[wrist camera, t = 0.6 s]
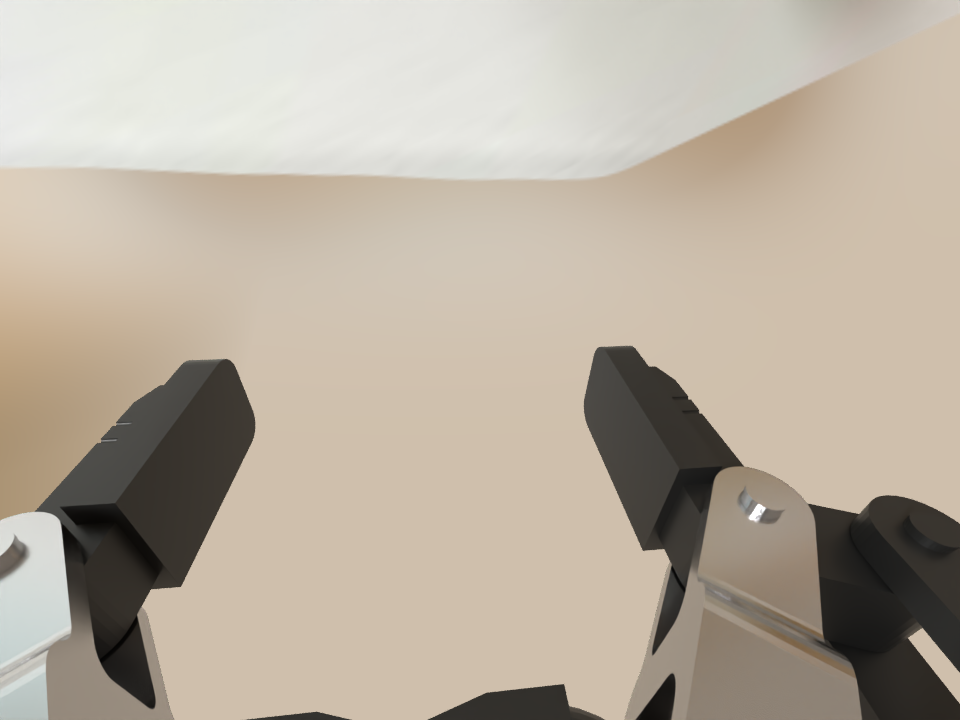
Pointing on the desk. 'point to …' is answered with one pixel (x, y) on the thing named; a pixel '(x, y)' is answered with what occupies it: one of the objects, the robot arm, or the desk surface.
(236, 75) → the desk surface
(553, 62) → the desk surface
